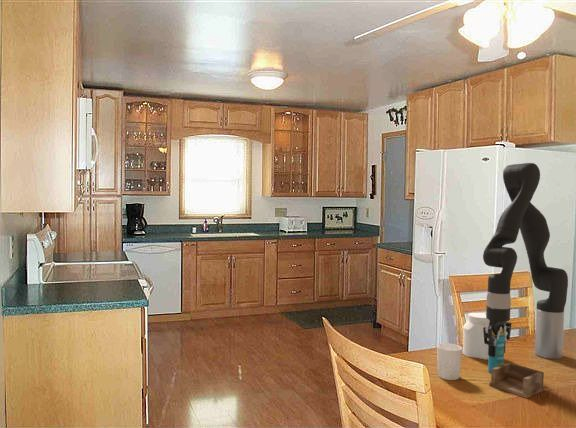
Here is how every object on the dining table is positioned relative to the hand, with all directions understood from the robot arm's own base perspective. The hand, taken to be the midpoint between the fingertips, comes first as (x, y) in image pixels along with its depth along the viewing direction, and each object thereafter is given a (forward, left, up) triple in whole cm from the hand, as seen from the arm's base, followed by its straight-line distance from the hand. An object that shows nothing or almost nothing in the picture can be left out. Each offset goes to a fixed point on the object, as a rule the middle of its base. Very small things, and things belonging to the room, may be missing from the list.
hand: (496, 354), depth 174 cm
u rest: (+8, +12, -6) cm, 15 cm away
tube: (0, 0, -6) cm, 6 cm away
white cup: (+17, -7, -6) cm, 19 cm away
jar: (-12, -14, -6) cm, 19 cm away
